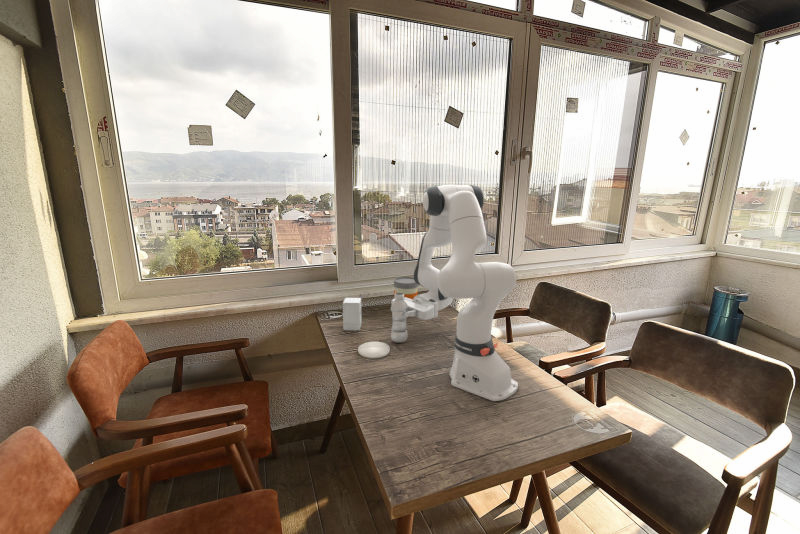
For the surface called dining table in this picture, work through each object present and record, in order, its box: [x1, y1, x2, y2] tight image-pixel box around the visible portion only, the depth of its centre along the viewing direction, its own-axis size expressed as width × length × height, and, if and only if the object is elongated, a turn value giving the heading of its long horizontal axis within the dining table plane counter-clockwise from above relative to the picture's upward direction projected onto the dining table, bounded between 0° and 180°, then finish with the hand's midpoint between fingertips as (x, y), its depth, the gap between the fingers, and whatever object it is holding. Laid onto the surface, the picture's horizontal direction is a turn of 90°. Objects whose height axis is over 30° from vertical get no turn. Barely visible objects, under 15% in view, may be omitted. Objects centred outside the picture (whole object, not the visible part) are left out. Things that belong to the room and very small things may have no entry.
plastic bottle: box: [390, 293, 409, 344], centre depth 149 cm, size 6×7×20 cm
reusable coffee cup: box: [393, 276, 420, 300], centre depth 186 cm, size 13×13×15 cm
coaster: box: [357, 341, 391, 359], centre depth 143 cm, size 12×12×1 cm
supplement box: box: [342, 297, 362, 331], centre depth 163 cm, size 7×7×13 cm
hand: (398, 312), depth 147 cm, fingers open, 6 cm apart
